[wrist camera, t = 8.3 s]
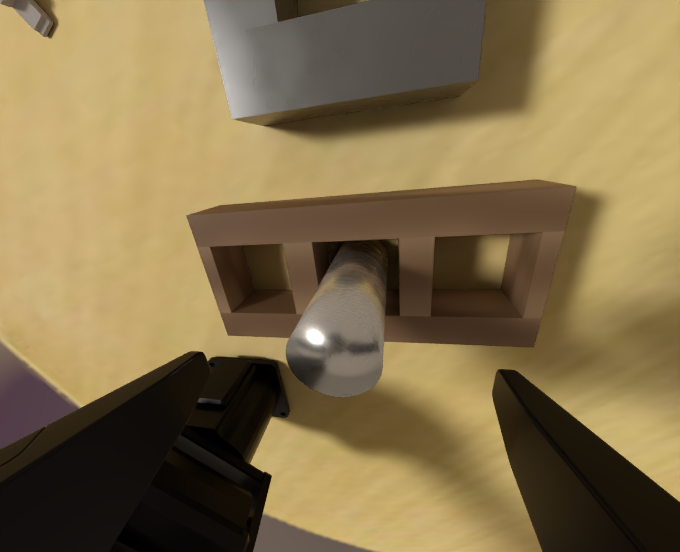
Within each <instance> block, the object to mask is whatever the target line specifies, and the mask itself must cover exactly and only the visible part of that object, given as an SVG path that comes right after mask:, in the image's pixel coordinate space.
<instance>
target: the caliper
mask: <svg viewBox="0 0 680 552" xmlns="http://www.w3.org/2000/svg"><path fill="white" fill-rule="evenodd" d="M0 3H1V4H3V5H5V6H8V7H13V8H14V9H15V10H16V11H17V12H18V13H19V15H20V16H21V17H22V18H23V19H24V20H25V21H26V22H27V23H28V24H29V25H30V26H31V27H32V28H33V29H34V30H36V31H38V32H39V33H40V34H41V35H42V36H44V37H47V35H48V33H49V31H50V29H51V27H52V25H53V21H52V20H51V19H50V17H49V16H48V15H47V14H46V13H45V12H44V11H43V10H42V8H41V7H40V6H39V5H38V4H37V3H36V2H35V1H34V0H0Z"/></svg>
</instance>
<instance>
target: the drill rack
mask: <svg viewBox="0 0 680 552" xmlns="http://www.w3.org/2000/svg"><path fill="white" fill-rule="evenodd" d="M575 191H576V186H571V185H565V184H560V183H554V182H549V181H543V180H527V181H515V182H503V183H490V184H478V185H466V186H453V187H441V188H429V189H417V190H404V191H392V192H380V193H367V194H355V195H343V196H330V197H318V198H306V199H293V200H281V201H269V202H256V203H244V204H232V205H220V206H216V207H213V208H210V209H206V210H203V211H200V212H196V213H193V214H190V215H186V216H187V219H188V222H189V225H190V227H191V230H192V233H193V236H194V239H195V242H196V245H197V248H198V250H199V253H200V256H201V259H202V262H203V265H204V268H205V271H206V273H207V276H208V279H209V282H210V285H211V288H212V291H213V294H214V296H215V299H216V302H217V305H218V308H219V311H220V314H221V317H222V320H223V322H224V325H225V328H226V331H227V334H228V335H229V336H255V337H280V338H290V337H291V335H292V333H293V331H294V329H295V328H296V326H297V324H298V322H299V320H300V319H301V317H302V315H303V313H304V312H305V310H306V308H307V306H308V304H309V303H310V301H311V299H312V297H313V295H314V294H315V292H316V290H317V288H318V286H319V285H320V283H321V281H322V279H323V277H324V276H325V274H326V272H327V270H328V269H329V267H330V261H329V253H328V245H327V242H329V241H352V240H375V239H398V254H399V290H386V306H385V327H384V342H409V343H435V344H461V345H486V346H512V347H534V345H535V341H536V337H537V333H538V330H539V326H540V322H541V318H542V315H543V311H544V307H545V303H546V300H547V296H548V292H549V288H550V285H551V281H552V277H553V273H554V270H555V266H556V262H557V258H558V255H559V251H560V247H561V243H562V240H563V236H564V232H565V228H566V225H567V221H568V217H569V213H570V210H571V206H572V202H573V198H574V195H575ZM491 234H511V235H510V241H509V246H508V252H507V258H506V263H505V269H504V274H503V280H502V286H501V290H432V280H433V261H434V242H435V237H444V236H467V235H491ZM260 244H283V249H284V253H285V258H286V263H287V268H288V273H289V278H290V283H291V288H292V290H254V288H253V285H252V281H251V277H250V274H249V270H248V266H247V263H246V259H245V255H244V252H243V248H242V245H260Z"/></svg>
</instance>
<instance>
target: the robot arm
mask: <svg viewBox="0 0 680 552" xmlns="http://www.w3.org/2000/svg"><path fill="white" fill-rule="evenodd" d="M492 397H493V402H494V406H495V410H496V413H497V417H498V421H499V425H500V429H501V433H502V436H503V440H504V444H505V448H506V452H507V455H508V459H509V462H510V465H511V468H512V471H513V474H514V477H515V479H516V482H517V485H518V487H519V490H520V493H521V495H522V498H523V501H524V503H525V506H526V509H527V511H528V514H529V517H530V519H531V522H532V525H533V527H534V530H535V533H536V535H537V538H538V541H539V543H540V546H541V549H542V552H680V502H679V501H678V500H677V499H675V498H674V497H673V496H672V495H670V494H669V493H668V492H667V491H665V490H664V489H663V488H662V487H660V486H659V485H658V484H657V483H655V482H654V481H653V480H652V479H650V478H649V477H648V476H647V475H645V474H644V473H643V472H642V471H640V470H639V469H638V468H637V467H635V466H634V465H633V464H632V463H631V462H629V461H628V460H627V459H626V458H624V457H623V456H622V455H621V454H619V453H618V452H617V451H616V450H614V449H613V448H612V447H611V446H609V445H608V444H607V443H606V442H604V441H603V440H602V439H601V438H599V437H598V436H597V435H596V434H594V433H593V432H592V431H591V430H589V429H588V428H587V427H586V426H584V425H583V424H582V423H581V422H580V421H578V420H577V419H576V418H575V417H573V416H572V415H571V414H570V413H568V412H567V411H566V410H565V409H563V408H562V407H561V406H560V405H558V404H557V403H556V402H555V401H553V400H552V399H551V398H550V397H548V396H547V395H546V394H545V393H543V392H542V391H541V390H540V389H538V388H537V387H536V386H535V385H534V384H532V383H531V382H530V381H529V380H527V379H526V378H525V377H524V376H522V375H521V374H520V373H519V372H517V371H515V370H507V369H499V370H497V372H496V376H495V381H494V385H493V390H492ZM289 413H290V410H289V406H288V402H287V398H286V395H285V391H284V387H283V383H282V379H281V376H280V372H279V368H278V365H277V363H276V362H274V361H268V360H252V359H235V358H218V357H212V358H210V359H209V361H207V359H206V356H205V354H204V353H203V352H198V351H191V352H188V353H186V354H184V355H182V356H180V357H178V358H176V359H174V360H172V361H170V362H169V363H167V364H165V365H163V366H161V367H159V368H157V369H155V370H153V371H151V372H149V373H147V374H145V375H143V376H141V377H140V378H138V379H136V380H134V381H132V382H130V383H128V384H126V385H124V386H122V387H120V388H118V389H116V390H114V391H112V392H111V393H109V394H107V395H105V396H103V397H101V398H99V399H97V400H95V401H93V402H91V403H89V404H87V405H85V406H83V407H82V408H80V409H78V410H76V411H74V412H72V413H70V414H68V415H66V416H64V417H62V418H60V419H58V420H57V421H55V422H53V423H51V424H49V425H47V427H43V428H41V429H39V430H37V431H35V432H33V433H31V434H29V435H27V436H25V437H23V438H22V439H20V440H18V441H16V442H14V443H12V444H10V445H8V446H6V447H4V448H2V449H0V552H253V549H254V546H255V542H256V538H257V534H258V530H259V526H260V521H261V518H262V514H263V509H264V505H265V501H266V497H267V493H268V489H269V485H270V481H271V477H272V476H271V475H270V474H268V473H267V472H262V471H260V470H259V469H257V468H255V467H254V466H252V465H251V464H250V463H251V460H252V458H253V456H254V454H255V452H256V450H257V447H258V445H259V443H260V441H261V439H262V437H263V434H264V432H265V430H266V428H267V426H268V423H269V421H270V419H271V417H272V416H273V417H282V418H286V417H288V415H289Z"/></svg>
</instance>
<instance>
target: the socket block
mask: <svg viewBox="0 0 680 552" xmlns="http://www.w3.org/2000/svg"><path fill="white" fill-rule="evenodd" d="M204 4H205V8H206V12H207V16H208V21H209V25H210V29H211V33H212V37H213V42H214V46H215V50H216V54H217V59H218V63H219V67H220V71H221V75H222V80H223V84H224V88H225V92H226V96H227V101H228V105H229V109H230V113H231V117H232V119H233V120H238V121H243V122H247V123H252V124H257V125H262V126H264V125H271V124H277V123H284V122H291V121H297V120H304V119H311V118H318V117H324V116H331V115H338V114H344V113H351V112H358V111H364V110H371V109H378V108H385V107H391V106H398V105H405V104H411V103H418V102H425V101H432V100H438V99H445V98H452V97H458V96H460V95H461V94H462V93H464V92H465V91H466V90H467V89H468V88H469V87H471V86H472V85H473V84H474V83H475V82H476V81H478V76H479V66H480V56H481V46H482V36H483V26H484V16H485V6H486V0H369V1H365V2H360V3H356V4H352V5H348V6H344V7H339V8H335V9H331V10H327V11H323V12H318V13H314V14H310V15H306V16H302V17H298V9H297V1H296V0H204Z"/></svg>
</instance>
